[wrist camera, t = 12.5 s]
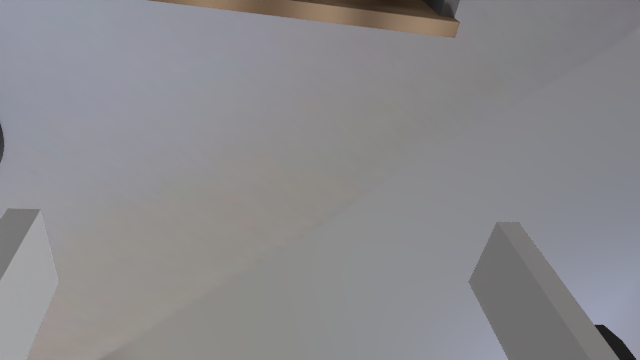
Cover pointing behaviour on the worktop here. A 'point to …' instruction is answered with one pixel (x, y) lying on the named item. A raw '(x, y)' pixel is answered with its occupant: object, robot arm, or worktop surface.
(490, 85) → the worktop surface
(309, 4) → the shelf
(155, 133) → the worktop surface
